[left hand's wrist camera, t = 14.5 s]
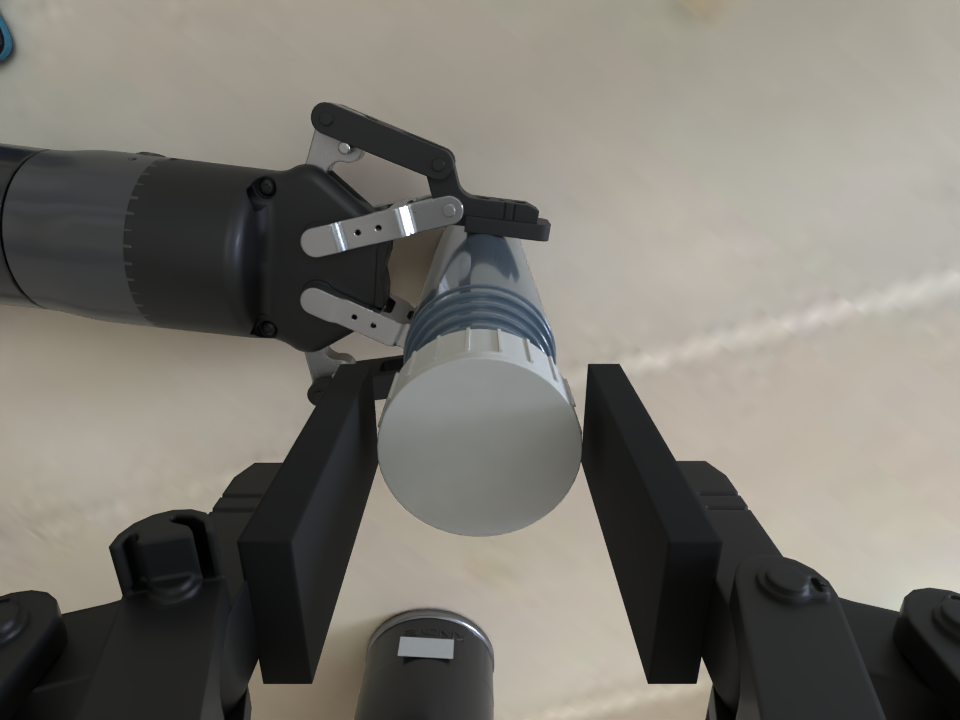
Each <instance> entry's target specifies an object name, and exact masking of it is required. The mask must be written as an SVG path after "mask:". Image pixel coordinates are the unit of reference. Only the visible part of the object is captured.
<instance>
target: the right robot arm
mask: <svg viewBox="0 0 960 720" xmlns="http://www.w3.org/2000/svg"><path fill="white" fill-rule="evenodd" d="M311 121H312V124H313V126H314V128H315V132H314V136H313V139H312V143H311V147H310V150H309V154H308V158H307V162H306V164H303V165H298V166H296V167H294V168H292V169H290V170H287V171H274V170H266V169H258V168H250V167H241V166H233V165H225V164H217V163H209V162H201V161H192V160H184V159H176V158H166V157H165V156H163V155H159V154H155V153H149V152H140V153H136V154H135V153H126V152H117V151H105V150H82V151H62V150H49V149H41V148H33V147H25V146H16V145H8V144H0V304H5V305H14V306H23V307H32V308H42V309H50V310H56V311H62V312H67V313H71V314H75V315H79V316H83V317H87V318H91V319H96V320H102V321H108V322H115V323H124V324H133V325H143V326H152V327H161V328H170V329H179V330H188V331H197V332H206V333H215V334H224V335H233V336H242V337H252V338H274V339H278V340H281V341H283V342H286V343H287V344H289V345H291V346H292V347H294V348H295V349H297V350H300V351H303V352H305V355H306V359H307V362H308V366H309V370H310V374H311V377H312V381H313V383H312V385H311V387H310V388H309V390H308V393H307V396H308V399H309V401H310V402H311V403H312V404H313V405H315V406H316V405H317V404H318V402H319V400H320V398H321V397H322V395H323V393H324V392H325V390H326V388H327V386H328V385H329V383H330V381H331V380H332V378H333V376H334V374H335V373H336V371H337V369H338V368H339V366H340V364H372V373H373V387H374V400H380V399H387V397H388V394H389V392H390V389H391V386H392V383H393V380H394V377H395V374H396V372H397V373H399V372H400V371H401V369H402V367H403V366H404V360H403V359H404V355H400V356H393V357H385V358H378V359H370V360H362V361H355V359H354V358H353V357H352V356H351V355H349V354H347V353H338V352H335V351H333V350H332V349H331V348H330V347H329V345H331V344H333V343H334V342H336V341H338V340H340V339H342V338H343V337H345V336H347V335H349V334H351V333H352V332H354V331H356V332H358V333H360V334H362V335H365V336H367V337H369V338H372V339H374V340H376V341H378V342H381V343H383V344H385V345H388V346H400V347H402V348H404V344H405V339H406V336H407V332H408V329H409V326H410V324H411V321H412V318H413V315H414V312H415V308H414V307H412V306H411V304H410V303H408V302H407V301H405V300H403V299H400V298H398V297H396V296H394V295H392V294H390V277H389V272H388V267H387V263H388V260H389V257H390V254H391V252H392V248H393V240H394V239H398V238H403V237H406V236H409V235H411V234H414V233H417V232H422V231H426V230H431V229H435V228H440V227H444V226H449V225H457V226H465V228H464V232H467V233H476V234H487V235H493V236H501V237H510V238H518V239H527V240H535V241H548V239H549V232H550V226H551V224H550V223H549V221H548V220H546V219H542V218H538V215H539V211H538V209H537V208H536V207H535V206H533V205H531V204H530V203H528V202H526V201H518V200H510V199H502V198H494V197H485V196H477V195H471V194H469V193H467V192H466V191H465V190H464V189H463V188H462V187H461V185H460V182H459V179H458V174H457V170H456V166H455V157H454V154H453V153H452V152H451V151H450V150H449V149H447V148H445V147H443V146H440V145H438V144H436V143H433V142H431V141H428V140H426V139H423V138H421V137H419V136H416V135H414V134H411V133H409V132H407V131H404V130H402V129H399V128H397V127H394V126H392V125H390V124H387V123H385V122H382V121H380V120H377V119H375V118H373V117H370V116H368V115H365V114H363V113H361V112H358V111H356V110H353V109H351V108H348V107H346V106H344V105H340V104H335V103H326V102H323V103H319V104H318V105H316V106H315V107H314V109H313V110H312V113H311ZM365 152H368V153H371V154H373V155H376V156H378V157H381V158H383V159H386V160H388V161H390V162H393V163H395V164H398V165H400V166H403V167H405V168H408V169H410V170H413V171H415V172H418V173H420V174H423V175H425V176H427V179H428V183H429V187H430V191H431V194H430V195H426V196H421V197H417V198H410V199H404V200H400V201H395V202H391V203H386V204H382V205H378V206H372V205H370V204H369V203H368V202H367V201H366V200H365V199H364V198H363V197H361V196H360V195H359V194H358V193H357V192H356V191H355V190H354V189H352V188H351V187H350V186H349V185H348V184H347V183H346V182H345V181H344V180H342V179H341V178H340V177H339V176H338V175H337V174H336V173H335V172H333V171H332V168H333V166H334V165H335V163H337V162H338V161H343V162H348V163H350V162H354V161H358V160H360V159H361V158H362V157H363V156H364V154H365ZM373 323H375V324H376V325H374V324H373ZM493 672H494V653H493V648H492V645H491V643H490V641H489V639H488V637H487V636H486V635H485V633H484V632H483V631H482V630H481V629H480V628H479V627H478V626H477V625H475V624H474V623H473V622H471V621H469V620H468V619H466V618H464V617H462V616H459V615H457V614H454V613H450V612H446V611H440V610H417V611H411V612H407V613H404V614H401V615H398V616H396V617H394V618H392V619H390V620H389V621H387V622H386V623H384V624H383V625H382V626H381V627H380V628H379V629H378V630H377V631H376V632H375V634H374V635H373V637H372V639H371V641H370V643H369V646H368V651H367V655H366V667H365V671H364V676H363V681H362V686H361V690H360V694H359V699H358V703H357V708H356V713H355V718H354V720H494V709H493V708H494V701H493Z"/></svg>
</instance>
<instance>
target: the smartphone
mask: <svg viewBox="0 0 960 720" xmlns="http://www.w3.org/2000/svg"><path fill="white" fill-rule="evenodd" d="M11 48H12V42H11V36H10V33H9V31H8V29H7V27H6V25H5V23H4V21H3V19H2V17H1V15H0V61H1V60H4V59H5V58H6V57H7V56H8V55H9V53H10V51H11Z"/></svg>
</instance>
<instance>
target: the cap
mask: <svg viewBox="0 0 960 720" xmlns="http://www.w3.org/2000/svg"><path fill="white" fill-rule="evenodd" d="M574 407H576V405H575V402H574V399H573V397H572V394H571V391H570V388H569V385H568V382H567V379H563V377H562V375H561V373H560V372H559V370H558V368H557V367H556V366H555V364H554V362H553V359H552V357H551V356H549V357H548V356H547V355H546V354H545V353H544V352H543V351H541V350H540V349H539V348H537V347H536V346H535V345H533V344H532V343H530V340H529V339H527V338H526V340H524V339H523V338H520V337H518V336H515V335H513V334H510V333H506V332H502V331H501V329H497V330H490V329H470V327H469V328H466V330H462V331H457V332H454V333H450V334H447V335H444V336H442V337H441V336H440V335H438V336H437V339H435V340H433V341H431V342H430V343H428V344H426V345H425V346H423V347H422V348H421V349H419V350H418V351H417V352H416V351H413V352H412V356H411V358H410V359H409V360H408V361H407V362H406V364H405V365H404V366H403V367H402V369H401V371H400V372H399V373H397V372H396V374H395V377H394V380H393V383H392V386H391V389H390V392H389V394H388V397H387V400H386V403H385V406H384V409H383V412H382V415H381V418H380V421H379V423H378V427H379V432H378V439H377V454H378V461H379V466H380V470H381V472H382V475H383V478H384V480H385V482H386V484H387V486H388V488H389V489H390V491H391V492H392V494H393V495H394V497H395V498H396V499H397V501H398V502H399V503H400V504H401V505H402V506H403V507H404V508H405V509H406V510H408V511H409V512H410V513H411V514H413V515H414V516H415V517H417V518H418V519H420V520H421V521H423V522H425V523H427V524H429V525H431V526H433V527H435V528H437V529H440V530H443V531H446V532H449V533H454V534H459V535H465V536H494V535H501V534H505V533H510V532H513V531H516V530H519V529H522V528H524V527H526V526H529V525H531V524H533V523H535V522H536V521H538V520H540V519H541V518H543V517H544V516H546V515H547V514H548V513H549V512H551V511H552V510H553V509H554V508H555V507H556V506H557V505H558V504H559V503H560V502H561V501H562V500H563V498H564V497H565V496H566V494H567V493H568V492H569V490H570V488H571V486H572V485H573V483H574V481H575V479H576V476H577V473H578V471H579V467H580V463H581V458H582V430H581V427H580V424H579V421H578V418H577V415H576V412H575V409H574Z"/></svg>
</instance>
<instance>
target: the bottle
mask: <svg viewBox="0 0 960 720" xmlns="http://www.w3.org/2000/svg"><path fill="white" fill-rule="evenodd" d="M464 228H465V226H457V225H449V226H447V228H446V229H445V230H444V232H443V234H442V236H441V238H440V241H439V244H438V246H437V249H436V252H435V255H434V258H433V261H432V264H431V266H430V269H429V272H428V275H427V278H426V281H425V284H424V286H423V289H422V292H421V295H420V298H419V301H418V304H417V306H416V309H415V312H414V315H413V318H412V321H411V324H410V326H409V329H408V332H407V336H406V339H405V344H404V359H403V360H404V365H405V364H406V362H407V361H408V360H409V359H410V358H411V356H412V352H413V351H416V352H417V351H418V350H419V349H421V348H422V347H423V346H425V345H426V344H428V343H430V342H431V341H433V340H435V339H437V336H438V335H440V336H441V337H442V336H444V335H447V334H450V333H454V332H457V331H462V330H466V328H469V327H470V329H490V330H497V329H501V331H502V332H506V333H510V334H513V335H515V336H518V337H520V338H523V339H524V340H526V338H527V339H529V340H530V343H532V344H533V345H535V346H536V347H537V348H539V349H540V350H541V351H543V352H544V353H545V354H546V355H547V356H548V357H549V356H551V357H552V359H553V362H554V364H555V366H556V348H555V342H554V337H553V334H552V331H551V328H550V325H549V323H548V320H547V317H546V314H545V311H544V308H543V305H542V302H541V300H540V297H539V294H538V291H537V288H536V285H535V282H534V279H533V277H532V274H531V271H530V268H529V265H528V262H527V259H526V256H525V254H524V251H523V248H522V245H521V242H520V239H518V238H510V237H501V236H493V235H487V234H476V233H467V232H464Z"/></svg>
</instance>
